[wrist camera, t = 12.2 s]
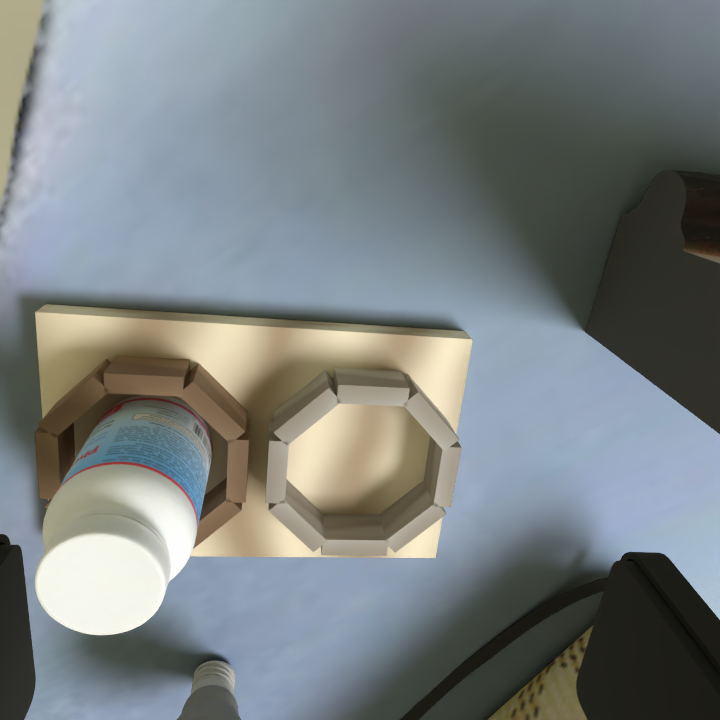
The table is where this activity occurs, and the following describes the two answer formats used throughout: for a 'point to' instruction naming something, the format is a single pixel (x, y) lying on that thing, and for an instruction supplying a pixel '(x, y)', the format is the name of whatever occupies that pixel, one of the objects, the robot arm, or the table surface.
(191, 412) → the pill bottle
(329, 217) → the table surface
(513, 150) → the table surface
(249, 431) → the holder board
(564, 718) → the clutch purse
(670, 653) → the robot arm
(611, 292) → the dark gray upright block
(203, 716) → the light bulb
